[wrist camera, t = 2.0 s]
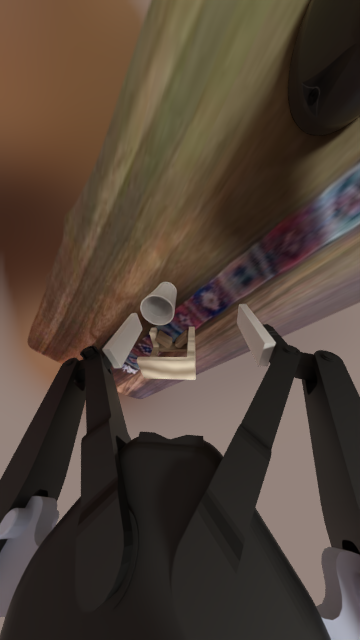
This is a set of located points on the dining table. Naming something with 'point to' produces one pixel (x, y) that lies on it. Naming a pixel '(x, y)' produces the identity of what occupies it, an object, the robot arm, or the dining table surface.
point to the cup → (160, 304)
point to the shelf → (170, 365)
